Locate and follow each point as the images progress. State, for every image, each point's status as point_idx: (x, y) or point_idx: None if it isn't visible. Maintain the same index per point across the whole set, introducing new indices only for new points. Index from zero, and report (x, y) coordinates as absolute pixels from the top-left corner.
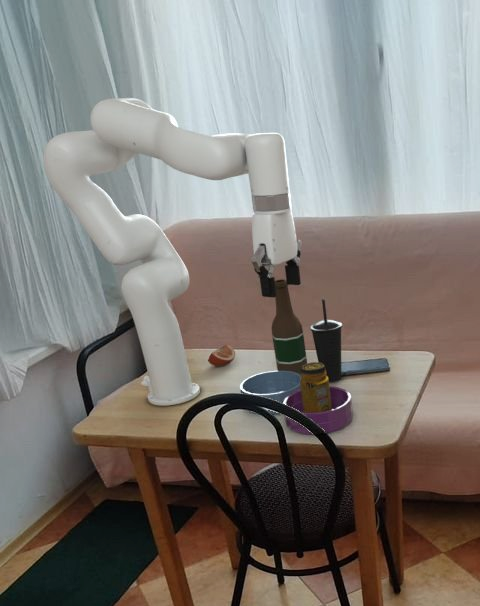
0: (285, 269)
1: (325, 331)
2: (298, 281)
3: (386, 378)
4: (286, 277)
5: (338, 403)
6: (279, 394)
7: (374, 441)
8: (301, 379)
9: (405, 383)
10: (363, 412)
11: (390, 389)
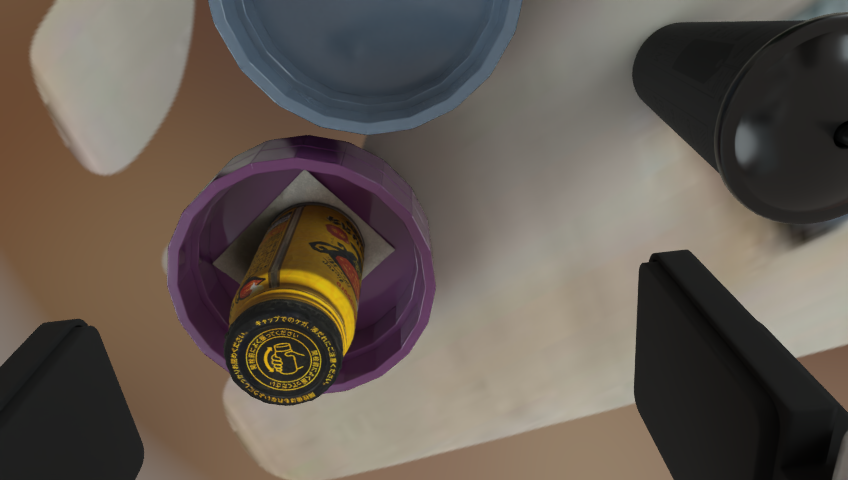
0: (730, 385)
1: (723, 179)
2: (650, 430)
3: (723, 270)
4: (676, 306)
5: (413, 275)
6: (278, 103)
7: (279, 450)
8: (246, 295)
9: None
10: (429, 339)
11: (628, 328)
